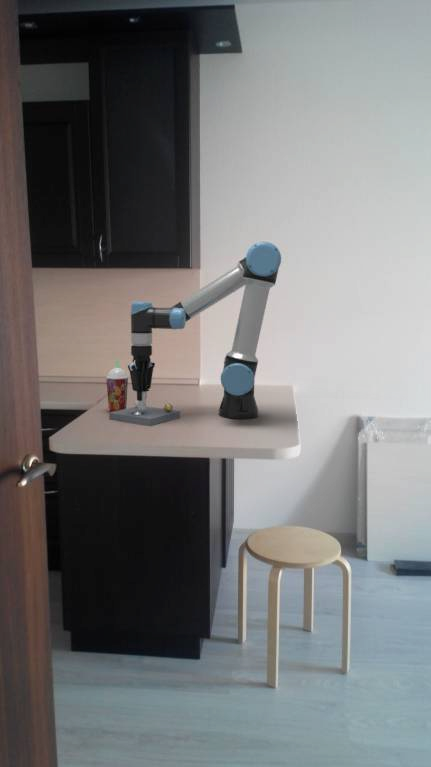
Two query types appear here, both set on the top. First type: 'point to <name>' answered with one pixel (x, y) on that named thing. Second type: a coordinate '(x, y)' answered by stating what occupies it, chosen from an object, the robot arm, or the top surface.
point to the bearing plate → (144, 415)
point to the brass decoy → (168, 407)
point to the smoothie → (117, 389)
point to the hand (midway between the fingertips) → (141, 408)
